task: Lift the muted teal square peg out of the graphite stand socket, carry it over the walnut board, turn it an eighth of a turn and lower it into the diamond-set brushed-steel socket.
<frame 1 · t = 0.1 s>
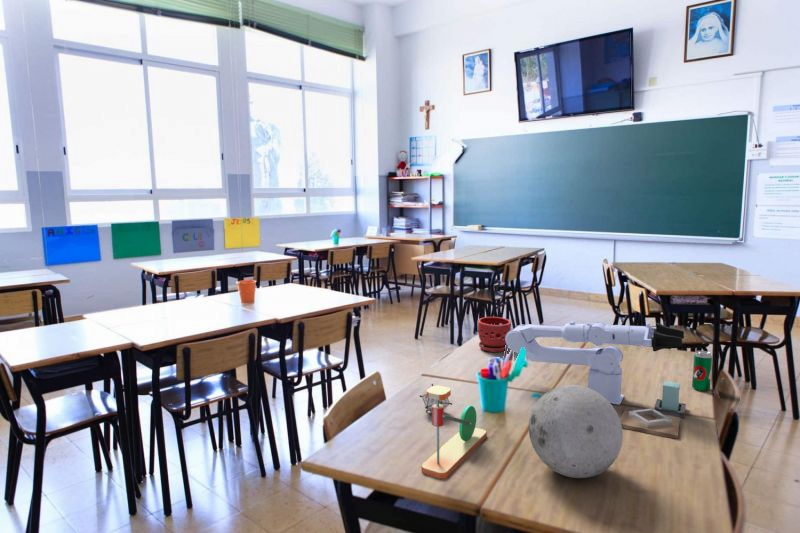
hand: (682, 338, 147), 22 cm above the table, tool horizontal, fingers open, 7 cm apart
stand socket: (669, 410, 151), on the table
socket board: (649, 423, 143), on the table
teal peg: (669, 411, 151), resting in stand socket
moon model: (573, 472, 119), on the table
crank mechanism: (455, 453, 129), on the table
grey wire strut frame: (435, 413, 152), on the table
plant pot: (494, 349, 212), on the table
soda can: (700, 389, 166), on the table
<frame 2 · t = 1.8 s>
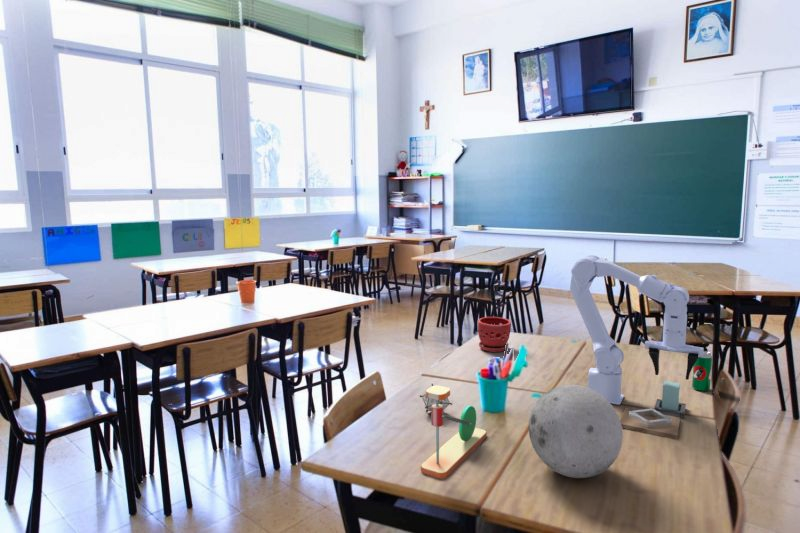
hand: (671, 376, 149), 10 cm above the table, tool pointing down, fingers open, 7 cm apart
nothing on the table moved.
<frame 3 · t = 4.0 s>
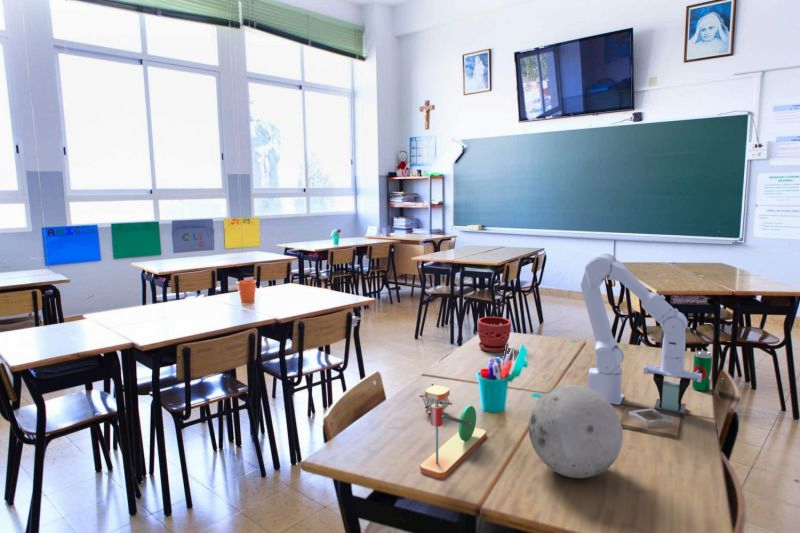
hand: (670, 401, 150), 3 cm above the table, tool pointing down, fingers closed on teal peg, 4 cm apart
teal peg: (669, 411, 151), resting in stand socket, touching gripper
everything else where it was.
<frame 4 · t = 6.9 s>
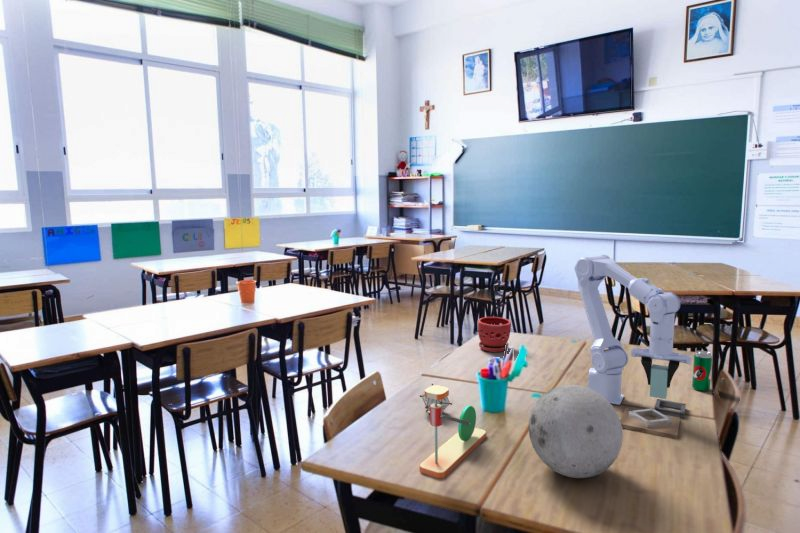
hand: (658, 385, 144), 10 cm above the table, tool pointing down, fingers closed on teal peg, 4 cm apart
teal peg: (658, 395, 144), point 7 cm above the table, touching gripper
everything else where it was.
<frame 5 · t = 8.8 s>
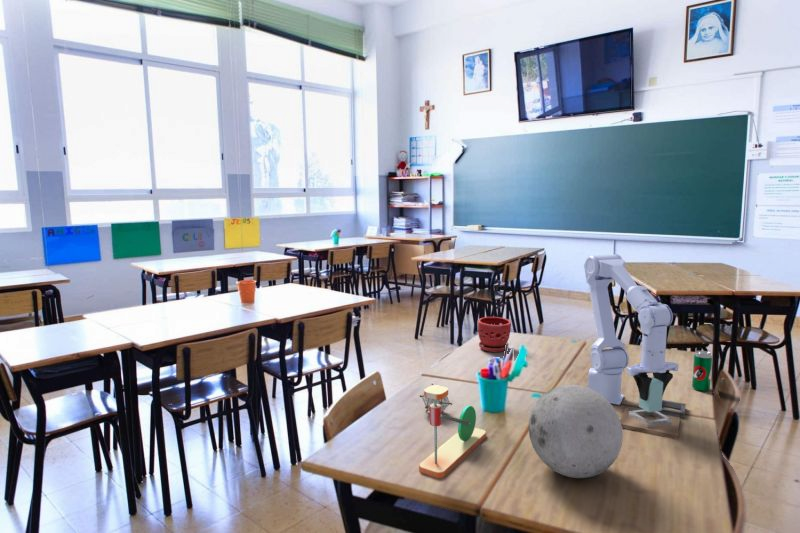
hand: (650, 398, 141), 7 cm above the table, tool pointing down, fingers closed on teal peg, 4 cm apart
teal peg: (650, 408, 142), point 4 cm above the table, touching gripper
everything else where it was.
when the fingers open (4 cm above the table, at t = 10.0 s): teal peg stays where it is, resting on socket board.
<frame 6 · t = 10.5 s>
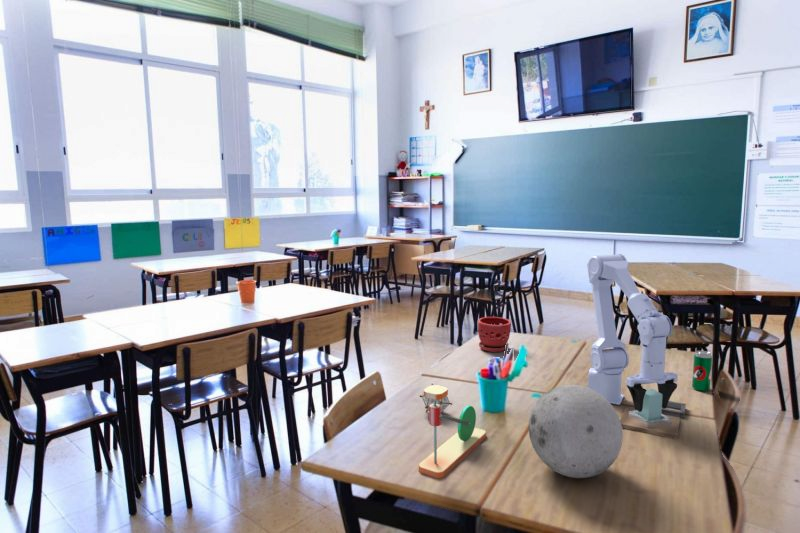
hand: (650, 408, 142), 4 cm above the table, tool pointing down, fingers open, 7 cm apart
teal peg: (649, 420, 143), point 1 cm above the table, touching socket board
everything else where it was.
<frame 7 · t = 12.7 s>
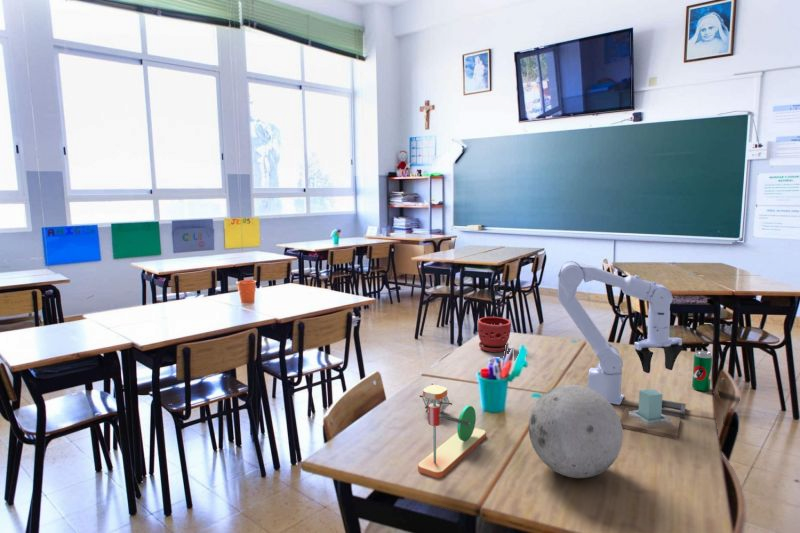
hand: (657, 370, 155), 10 cm above the table, tool pointing down, fingers open, 7 cm apart
nothing on the table moved.
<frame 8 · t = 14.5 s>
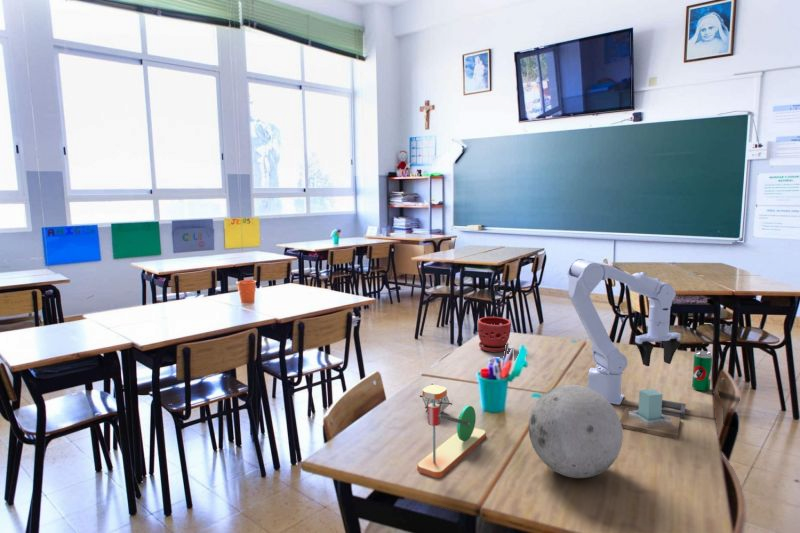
hand: (656, 364, 161), 10 cm above the table, tool pointing down, fingers open, 7 cm apart
nothing on the table moved.
at the end: teal peg 0.1 cm off-centre on the socket board, point 1.0 cm above the socket board's base; teal peg tilted 0°; the gripper is holding nothing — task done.
